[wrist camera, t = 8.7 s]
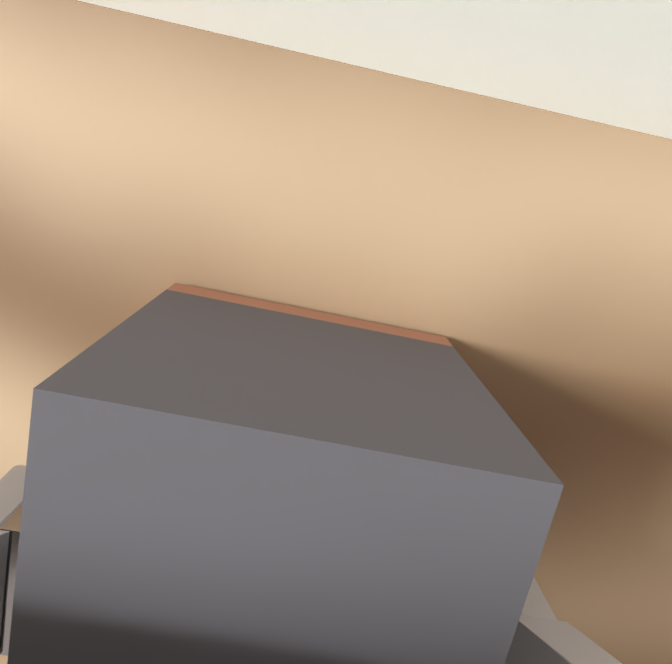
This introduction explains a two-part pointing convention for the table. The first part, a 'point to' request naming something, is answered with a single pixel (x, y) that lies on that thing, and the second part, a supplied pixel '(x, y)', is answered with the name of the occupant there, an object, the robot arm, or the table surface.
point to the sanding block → (273, 496)
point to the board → (358, 251)
